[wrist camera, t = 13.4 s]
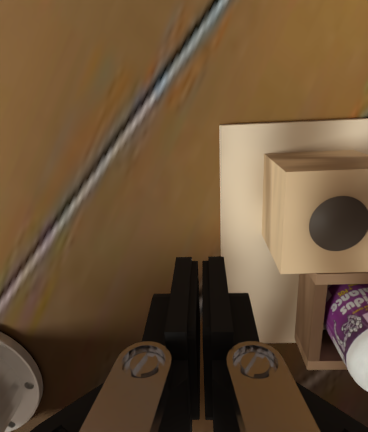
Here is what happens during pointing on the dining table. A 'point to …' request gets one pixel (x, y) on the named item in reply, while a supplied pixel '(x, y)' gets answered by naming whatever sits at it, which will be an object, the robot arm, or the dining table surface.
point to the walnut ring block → (319, 318)
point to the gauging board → (252, 211)
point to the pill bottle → (349, 327)
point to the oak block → (316, 211)
